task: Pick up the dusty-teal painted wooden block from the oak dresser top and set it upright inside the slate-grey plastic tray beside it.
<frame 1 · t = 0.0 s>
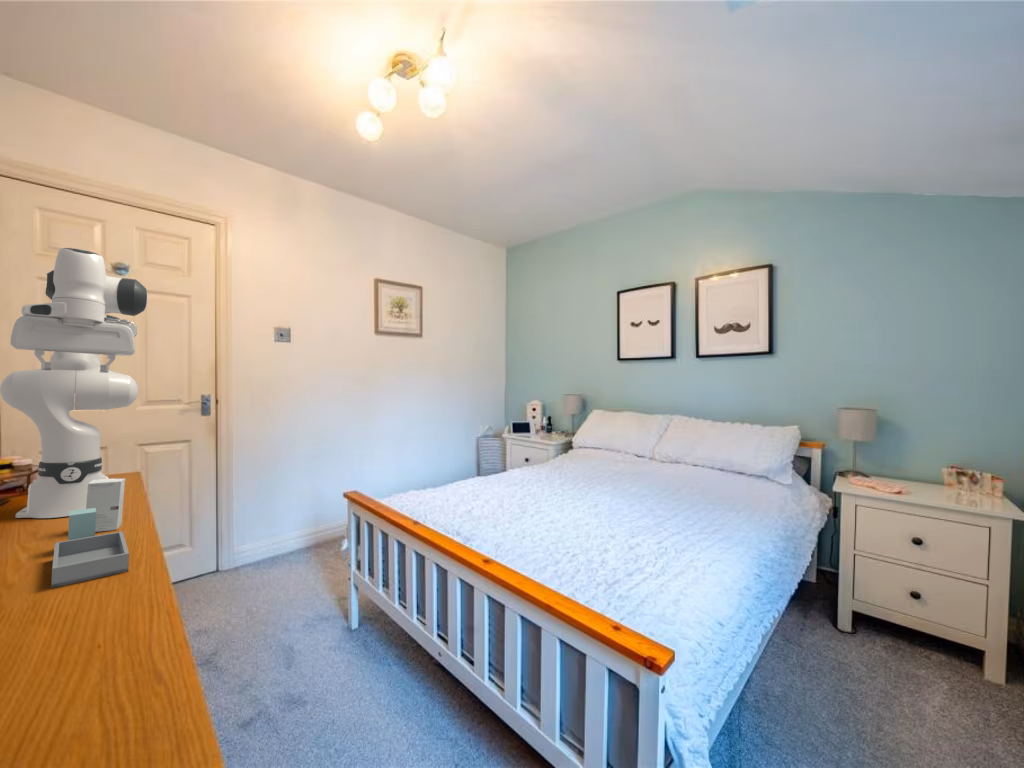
hand: (76, 371, 97), 39 cm above the dresser top, tool pointing down, fingers open, 8 cm apart
grey tray: (90, 565, 81), on the dresser top
skincare box: (104, 529, 100), on the dresser top
teal block: (81, 547, 89), on the dresser top
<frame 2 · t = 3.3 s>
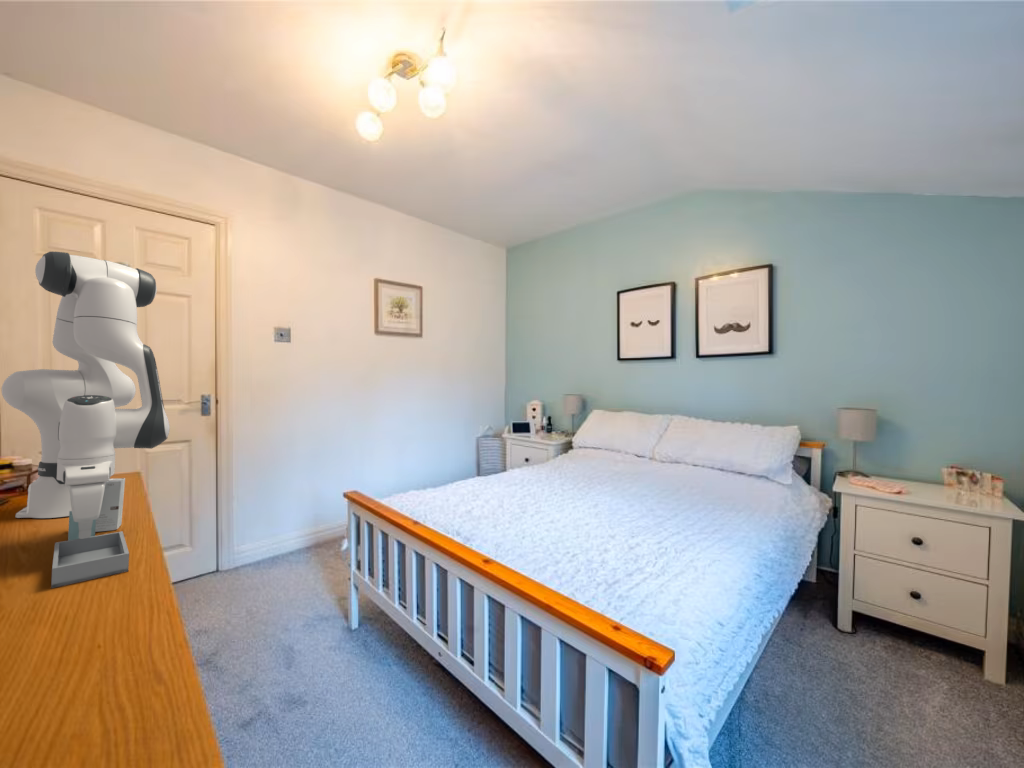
hand: (84, 531, 89), 3 cm above the dresser top, tool pointing down, fingers open, 8 cm apart
nothing on the dresser top moved.
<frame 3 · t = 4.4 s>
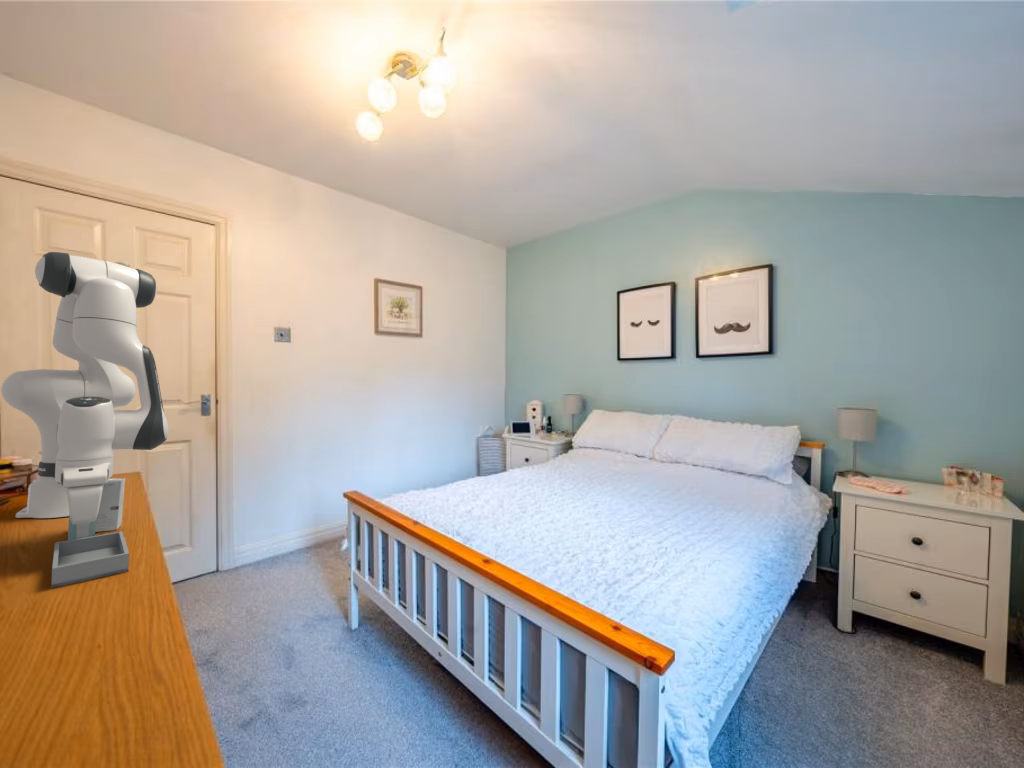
hand: (82, 533, 89), 3 cm above the dresser top, tool pointing down, fingers closed on teal block, 4 cm apart
teal block: (80, 547, 89), on the dresser top, touching gripper
everything else where it was.
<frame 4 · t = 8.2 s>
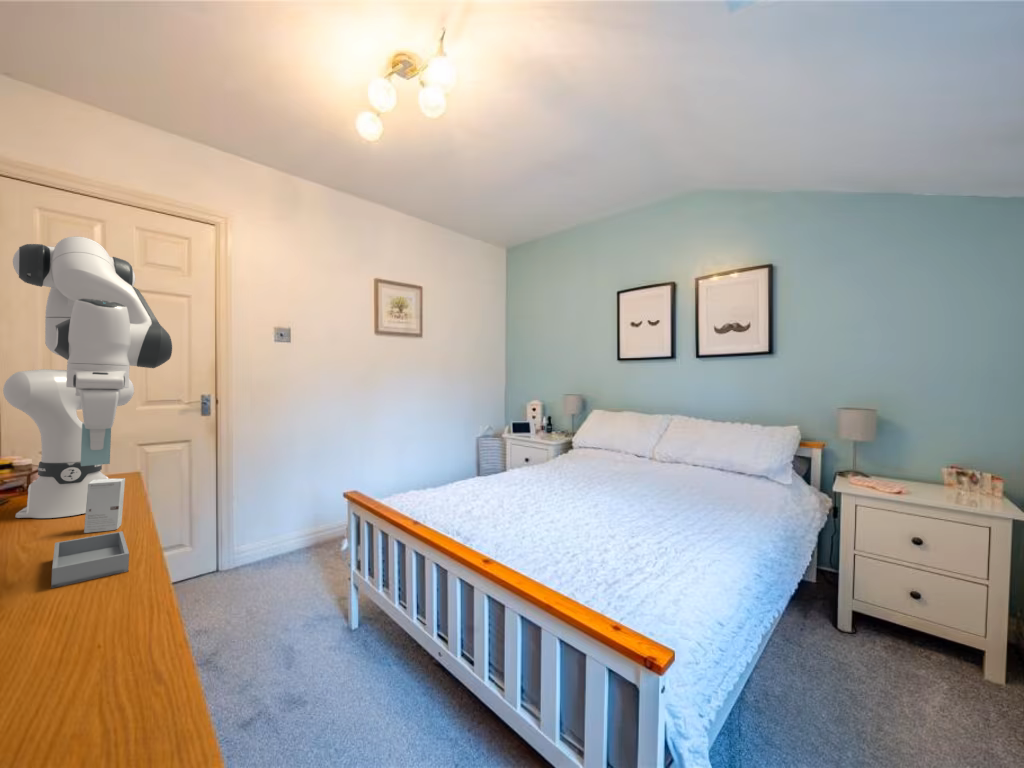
hand: (96, 447, 81), 24 cm above the dresser top, tool pointing down, fingers closed on teal block, 4 cm apart
teal block: (95, 463, 81), point 20 cm above the dresser top, touching gripper
everything else where it was.
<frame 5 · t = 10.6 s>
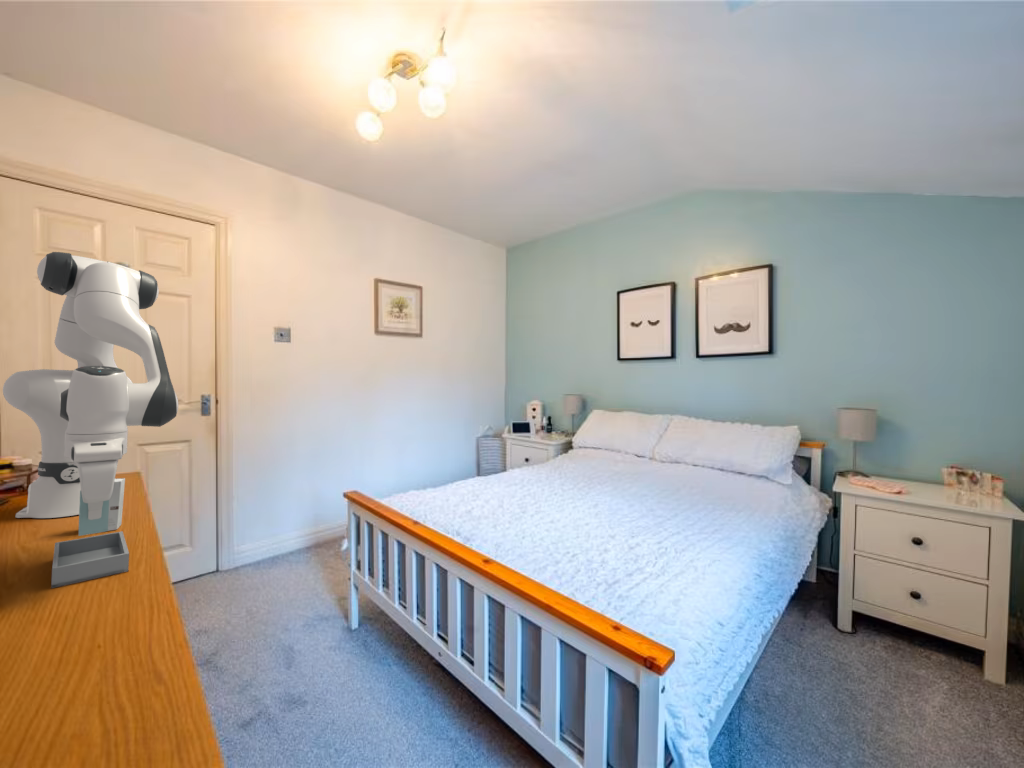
hand: (94, 515, 81), 10 cm above the dresser top, tool pointing down, fingers closed on teal block, 4 cm apart
teal block: (93, 530, 81), point 7 cm above the dresser top, touching gripper
everything else where it was.
when the fingers open (5 cm above the dresser top, at t = 12.4 s): teal block drops 2 cm, resting on grey tray.
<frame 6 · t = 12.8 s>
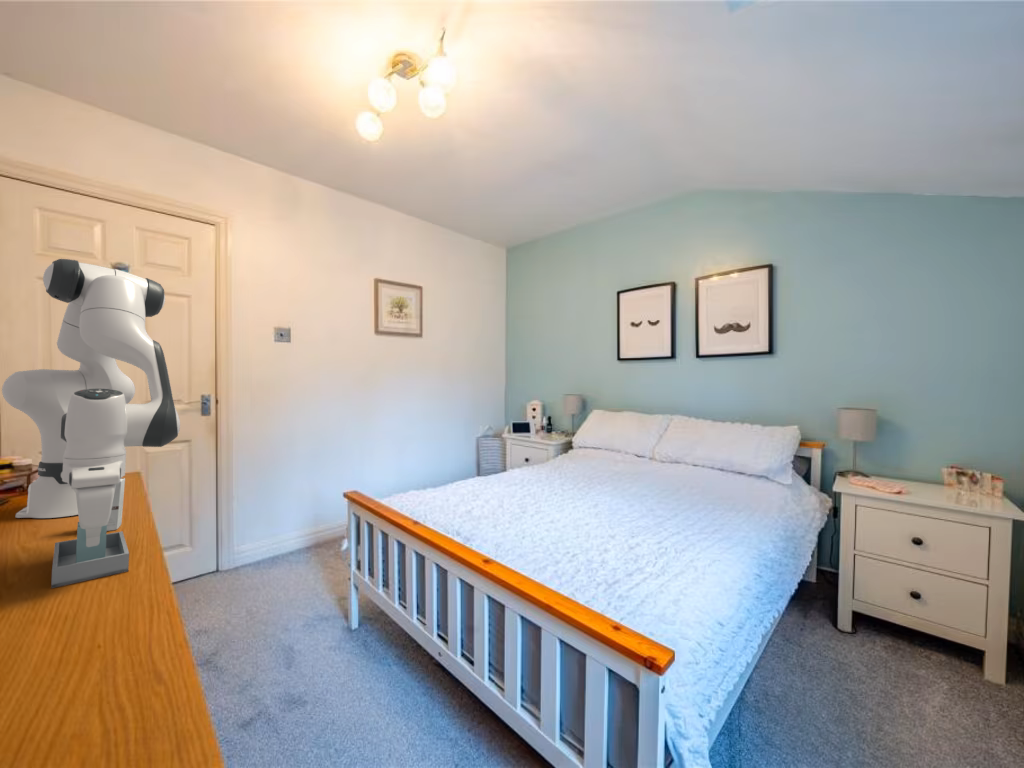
hand: (91, 538, 81), 5 cm above the dresser top, tool pointing down, fingers open, 8 cm apart
teal block: (90, 562, 81), point 1 cm above the dresser top, touching grey tray
everything else where it was.
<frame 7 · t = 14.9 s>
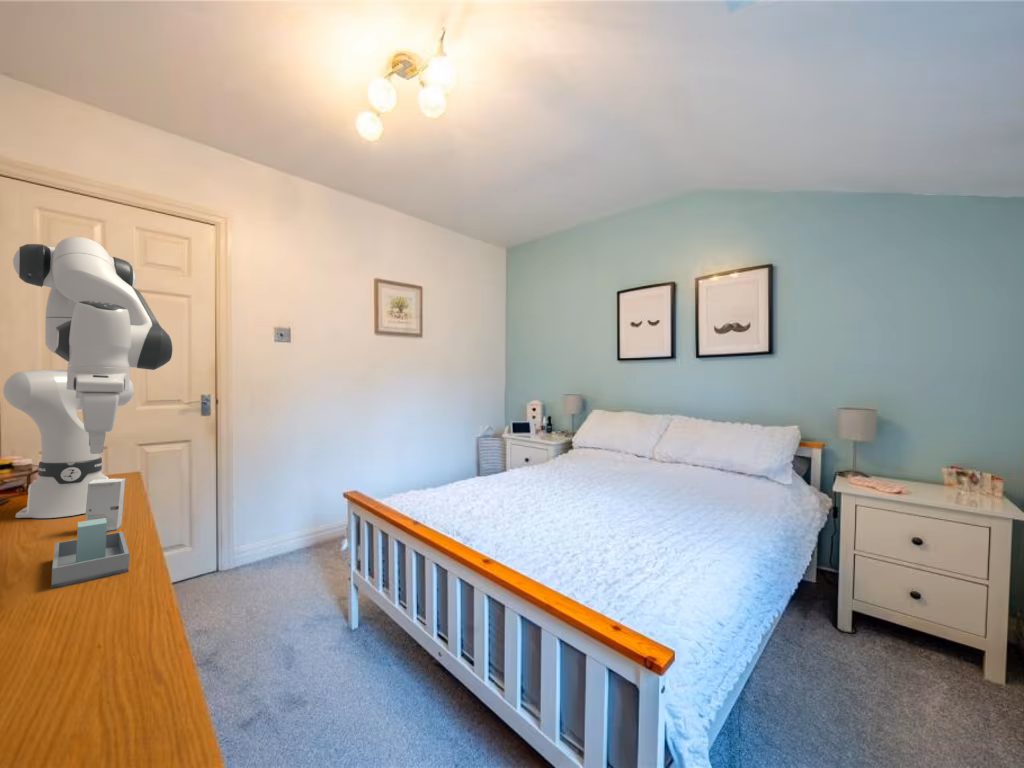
hand: (95, 449, 82), 23 cm above the dresser top, tool pointing down, fingers open, 8 cm apart
nothing on the dresser top moved.
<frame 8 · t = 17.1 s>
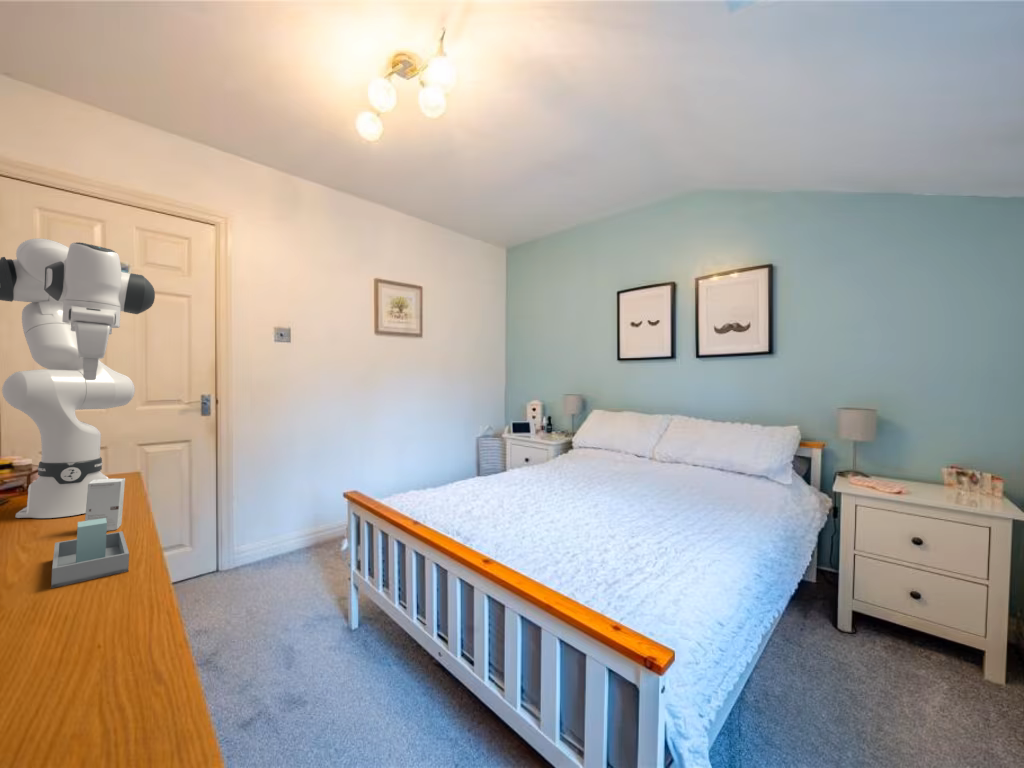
hand: (89, 379, 89), 37 cm above the dresser top, tool pointing down, fingers open, 8 cm apart
nothing on the dresser top moved.
at the end: teal block inside the target area on the grey tray (0.0 cm from its centre), point 0.6 cm above the grey tray's base; teal block tilted 0°; the gripper is holding nothing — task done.
